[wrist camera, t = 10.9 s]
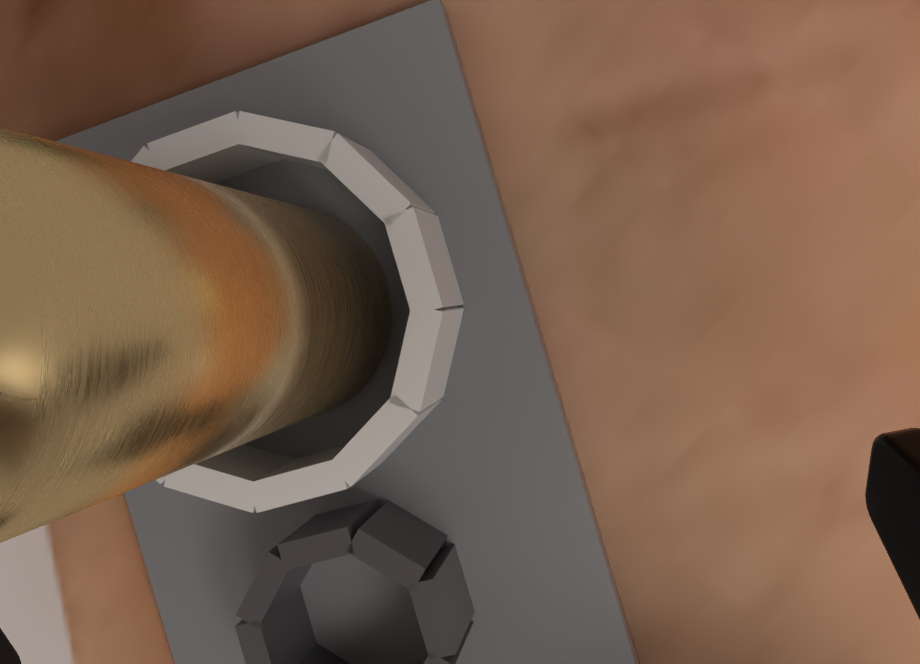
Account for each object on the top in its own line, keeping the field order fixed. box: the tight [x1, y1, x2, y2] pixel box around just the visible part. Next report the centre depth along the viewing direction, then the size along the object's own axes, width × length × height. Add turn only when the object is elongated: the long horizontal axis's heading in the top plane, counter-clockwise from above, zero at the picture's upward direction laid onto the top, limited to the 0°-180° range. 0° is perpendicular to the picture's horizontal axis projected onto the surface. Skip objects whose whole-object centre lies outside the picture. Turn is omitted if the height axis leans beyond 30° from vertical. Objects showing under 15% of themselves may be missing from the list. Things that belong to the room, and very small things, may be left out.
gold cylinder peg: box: [0, 127, 392, 543], centre depth 15 cm, size 5×5×13 cm
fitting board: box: [55, 0, 639, 664], centre depth 21 cm, size 17×12×3 cm
